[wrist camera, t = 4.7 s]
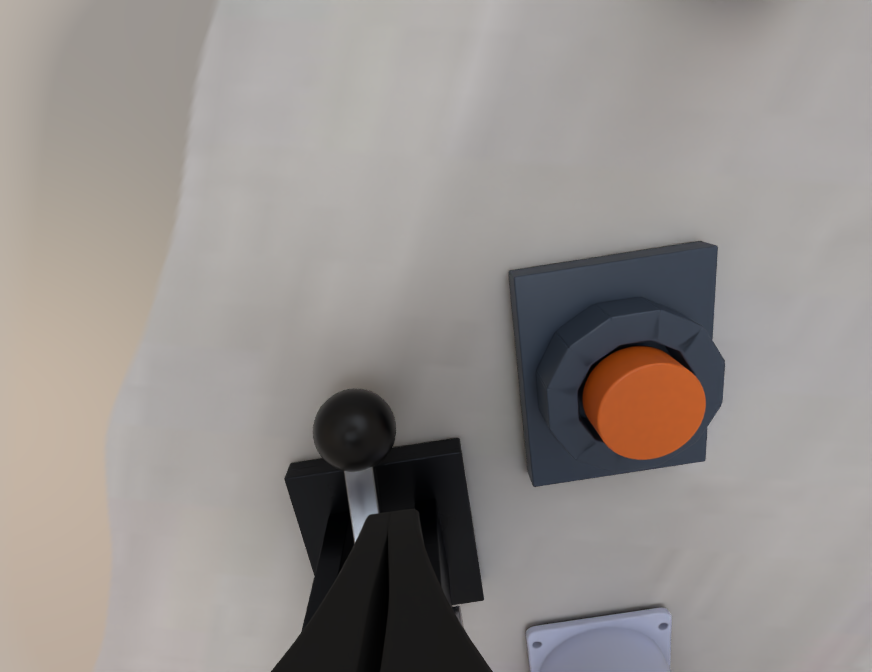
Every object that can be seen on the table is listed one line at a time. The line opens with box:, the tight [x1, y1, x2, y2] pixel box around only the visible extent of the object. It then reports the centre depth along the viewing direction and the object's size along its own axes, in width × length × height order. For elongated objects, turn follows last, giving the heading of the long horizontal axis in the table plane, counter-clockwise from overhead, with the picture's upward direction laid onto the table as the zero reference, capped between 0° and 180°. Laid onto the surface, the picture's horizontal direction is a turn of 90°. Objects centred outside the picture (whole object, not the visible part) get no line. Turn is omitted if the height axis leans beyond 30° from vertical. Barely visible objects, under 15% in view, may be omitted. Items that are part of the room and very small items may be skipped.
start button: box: [582, 346, 706, 460], centre depth 18 cm, size 4×4×2 cm
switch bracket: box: [285, 438, 484, 631], centre depth 20 cm, size 9×8×8 cm
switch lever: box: [313, 389, 396, 544], centre depth 19 cm, size 11×3×3 cm, turn 8°
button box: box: [509, 241, 725, 487], centre depth 20 cm, size 10×8×3 cm
